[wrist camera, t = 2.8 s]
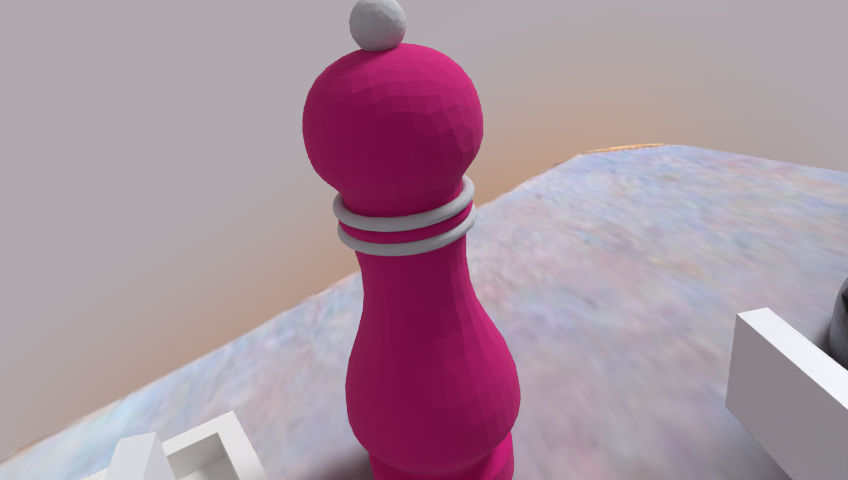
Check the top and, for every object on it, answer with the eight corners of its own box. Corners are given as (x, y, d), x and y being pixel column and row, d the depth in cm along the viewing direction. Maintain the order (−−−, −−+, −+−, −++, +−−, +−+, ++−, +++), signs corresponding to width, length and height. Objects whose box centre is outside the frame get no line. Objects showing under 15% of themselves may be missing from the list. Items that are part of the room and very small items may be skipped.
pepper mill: (492, 396, 32) (452, -28, 23) (553, 508, 26) (530, -17, 17) (352, 434, 31) (253, 3, 22) (380, 561, 25) (255, 27, 16)
